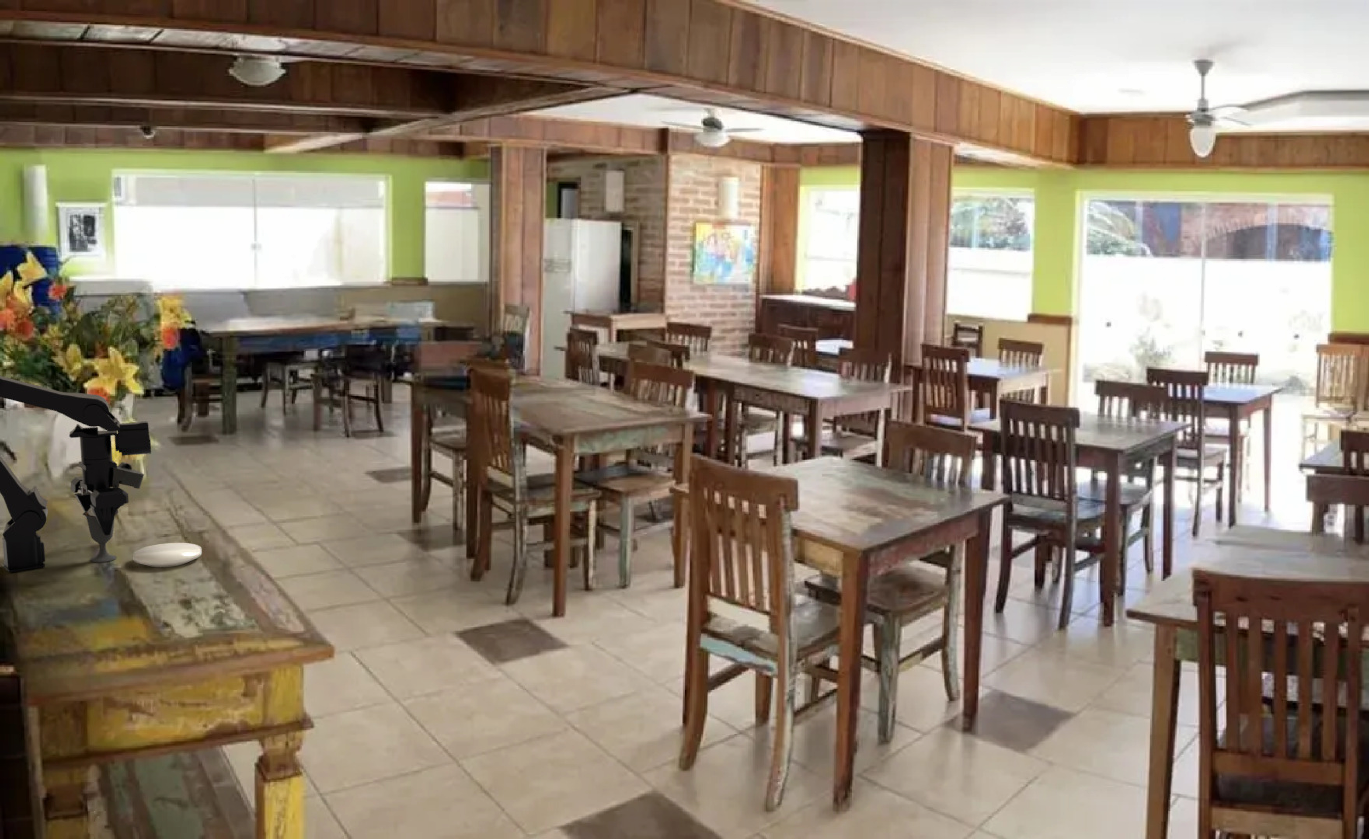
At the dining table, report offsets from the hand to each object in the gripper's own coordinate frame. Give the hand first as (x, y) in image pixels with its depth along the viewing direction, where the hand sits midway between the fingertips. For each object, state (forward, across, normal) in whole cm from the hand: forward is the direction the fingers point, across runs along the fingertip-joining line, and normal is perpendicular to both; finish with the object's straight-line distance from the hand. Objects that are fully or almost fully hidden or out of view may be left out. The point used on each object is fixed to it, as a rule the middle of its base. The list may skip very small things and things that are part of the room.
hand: (101, 531), depth 247 cm
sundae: (+6, 0, 0) cm, 6 cm away
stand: (+6, -9, -10) cm, 15 cm away
